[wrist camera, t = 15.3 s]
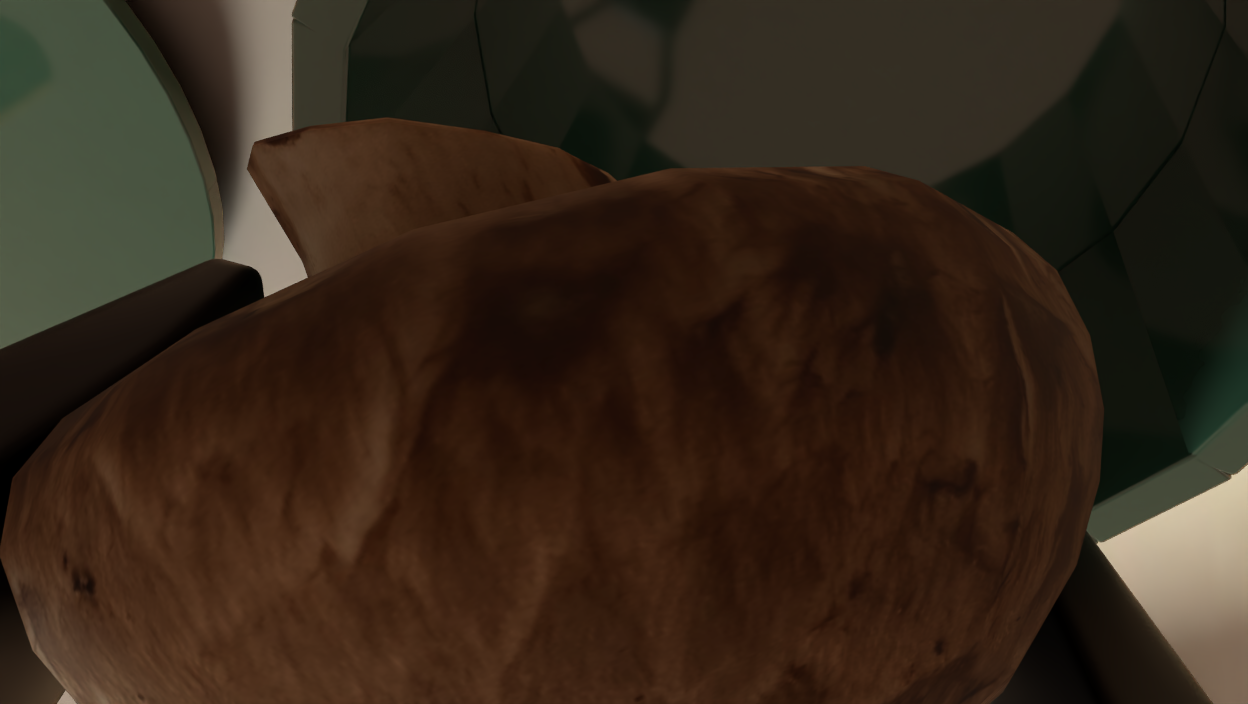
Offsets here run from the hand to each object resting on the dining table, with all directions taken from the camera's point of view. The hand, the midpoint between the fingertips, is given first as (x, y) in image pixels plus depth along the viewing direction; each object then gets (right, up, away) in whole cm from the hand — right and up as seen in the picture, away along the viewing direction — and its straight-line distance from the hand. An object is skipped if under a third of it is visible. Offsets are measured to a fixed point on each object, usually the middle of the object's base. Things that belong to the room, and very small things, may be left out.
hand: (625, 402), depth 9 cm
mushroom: (0, +1, +1) cm, 1 cm away
